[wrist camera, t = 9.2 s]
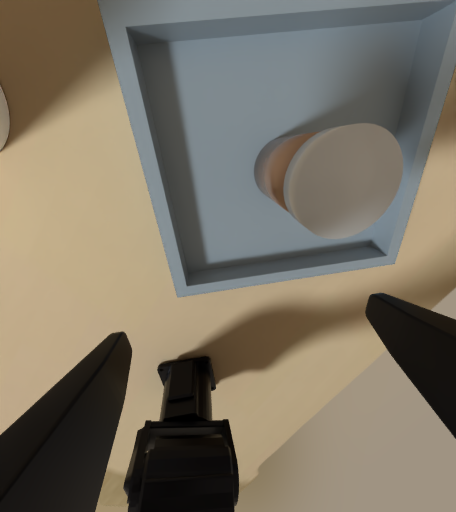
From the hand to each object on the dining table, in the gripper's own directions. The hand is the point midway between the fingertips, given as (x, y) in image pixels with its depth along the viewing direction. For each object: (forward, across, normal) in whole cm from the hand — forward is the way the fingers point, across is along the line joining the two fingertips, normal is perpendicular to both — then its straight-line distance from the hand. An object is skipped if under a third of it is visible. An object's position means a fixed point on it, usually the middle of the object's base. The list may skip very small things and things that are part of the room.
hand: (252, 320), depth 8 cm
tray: (+12, -5, -4) cm, 14 cm away
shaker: (+12, -5, -4) cm, 13 cm away
